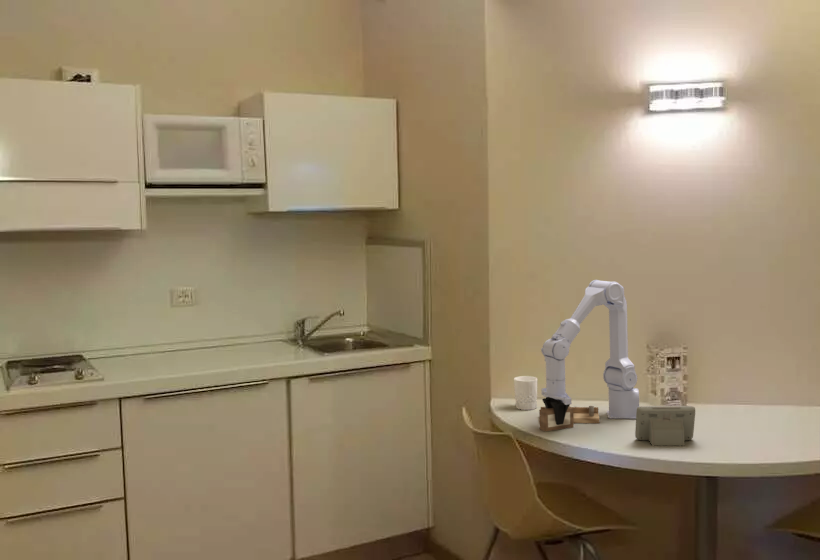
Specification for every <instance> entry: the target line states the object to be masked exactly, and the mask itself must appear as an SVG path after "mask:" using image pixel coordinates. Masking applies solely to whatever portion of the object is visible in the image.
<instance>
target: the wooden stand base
mask: <svg viewBox="0 0 820 560" xmlns="http://www.w3.org/2000/svg"><path fill="white" fill-rule="evenodd" d="M571 407H572V408H573V417H574V424H600V415H599V407H597V406H596V407H595V406H594V405H589V406H584V407H583V406H571ZM540 409H546V406H545V405H544V406H540Z"/></svg>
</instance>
